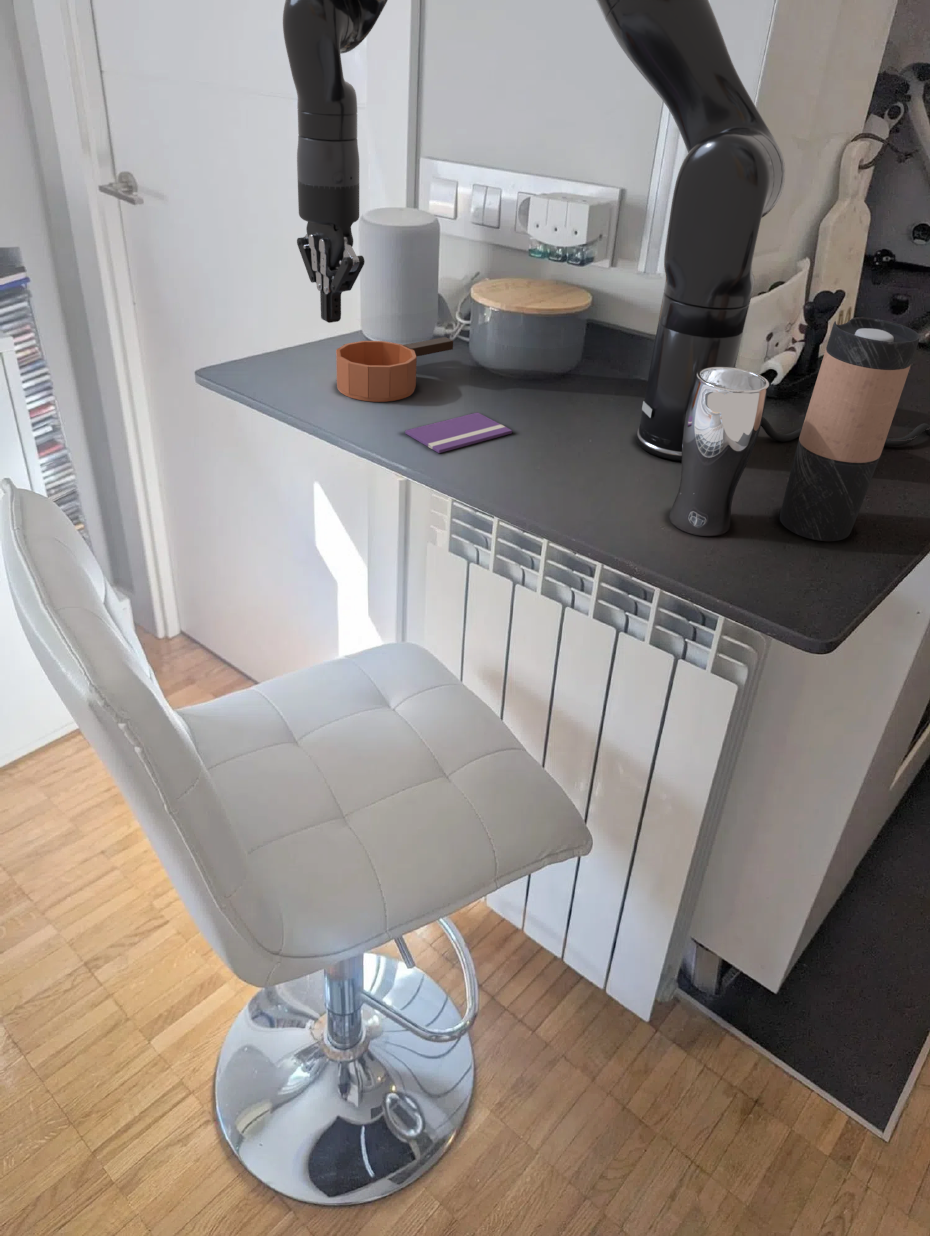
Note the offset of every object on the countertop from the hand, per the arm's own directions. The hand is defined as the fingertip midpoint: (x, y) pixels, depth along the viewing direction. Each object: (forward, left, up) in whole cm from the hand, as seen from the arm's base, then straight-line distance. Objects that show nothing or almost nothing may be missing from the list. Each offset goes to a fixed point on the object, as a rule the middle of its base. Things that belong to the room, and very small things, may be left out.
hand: (330, 320), depth 121 cm
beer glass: (-7, +58, -6) cm, 59 cm away
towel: (0, +28, -6) cm, 29 cm away
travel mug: (-17, +65, -6) cm, 68 cm away
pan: (-3, +11, -6) cm, 13 cm away
